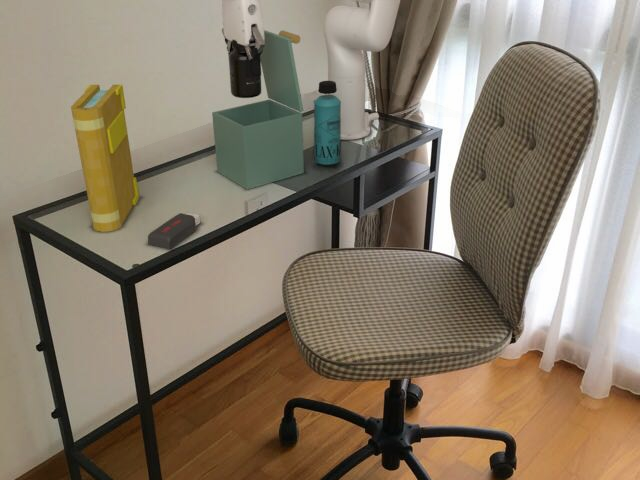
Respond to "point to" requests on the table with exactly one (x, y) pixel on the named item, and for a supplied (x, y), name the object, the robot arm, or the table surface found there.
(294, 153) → the bin
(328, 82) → the beverage bottle
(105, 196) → the book
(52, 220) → the table surface
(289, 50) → the bin lid
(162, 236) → the usb drive
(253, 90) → the supplement bottle
